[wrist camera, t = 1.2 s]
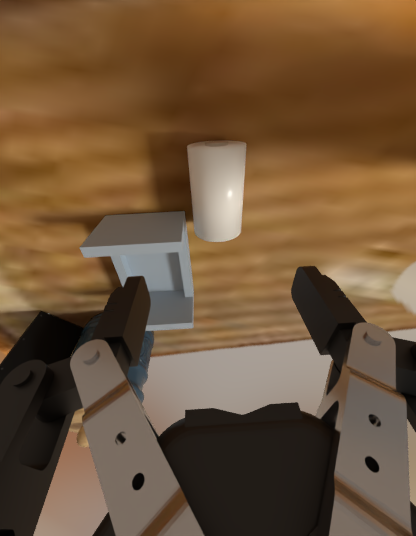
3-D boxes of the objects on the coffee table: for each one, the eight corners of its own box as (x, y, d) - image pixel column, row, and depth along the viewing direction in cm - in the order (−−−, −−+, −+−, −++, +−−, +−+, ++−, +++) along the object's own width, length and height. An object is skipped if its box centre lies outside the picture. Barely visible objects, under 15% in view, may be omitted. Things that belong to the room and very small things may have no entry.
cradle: (184, 211, 27) (181, 241, 21) (193, 290, 35) (193, 328, 29) (105, 215, 26) (79, 247, 21) (134, 294, 35) (121, 332, 29)
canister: (168, 333, 42) (155, 445, 29) (125, 355, 47) (96, 462, 33) (116, 299, 36) (65, 423, 22) (71, 328, 40) (6, 448, 26)
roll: (179, 141, 21) (199, 149, 17) (229, 136, 23) (258, 143, 18) (188, 226, 27) (204, 248, 23) (227, 218, 28) (249, 236, 24)
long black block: (25, 330, 40) (-189, 612, 18) (41, 309, 36) (-196, 624, 14) (67, 345, 43) (-67, 595, 21) (85, 328, 40) (-50, 601, 18)
